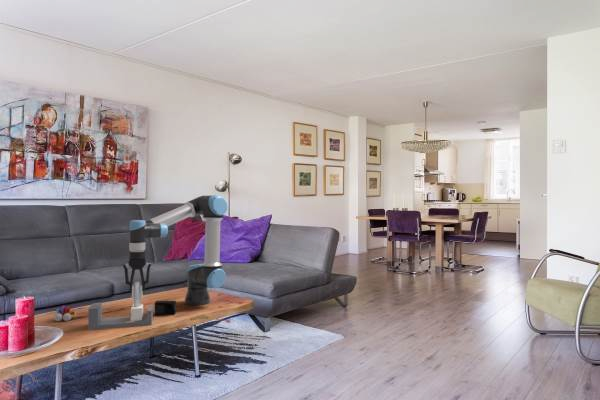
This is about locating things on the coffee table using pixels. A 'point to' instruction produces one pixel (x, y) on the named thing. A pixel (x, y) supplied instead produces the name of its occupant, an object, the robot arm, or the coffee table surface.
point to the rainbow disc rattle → (64, 314)
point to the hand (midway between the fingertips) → (137, 297)
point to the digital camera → (165, 308)
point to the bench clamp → (115, 319)
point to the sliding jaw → (137, 304)
